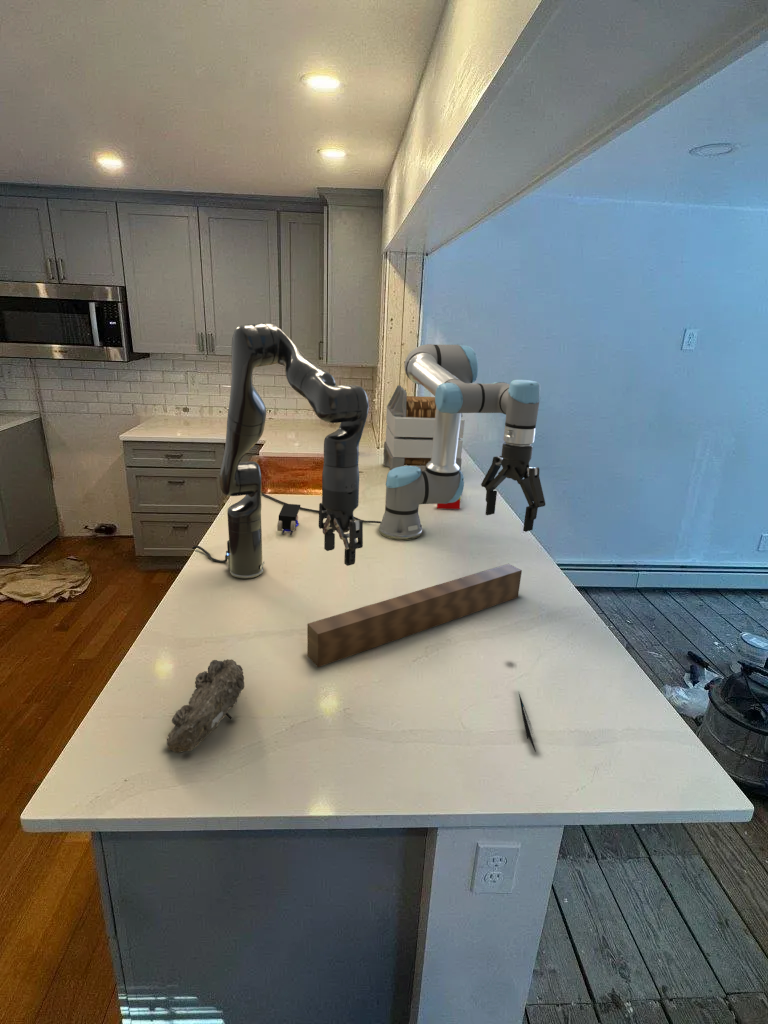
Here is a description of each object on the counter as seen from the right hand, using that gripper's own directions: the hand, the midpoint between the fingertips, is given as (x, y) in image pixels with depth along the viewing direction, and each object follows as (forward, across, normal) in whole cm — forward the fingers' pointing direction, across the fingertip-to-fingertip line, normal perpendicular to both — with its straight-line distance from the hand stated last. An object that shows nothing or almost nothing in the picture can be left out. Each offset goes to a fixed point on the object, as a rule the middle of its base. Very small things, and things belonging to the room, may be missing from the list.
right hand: (508, 522), depth 150 cm
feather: (+23, +35, -29) cm, 51 cm away
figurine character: (+23, -74, -28) cm, 82 cm away
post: (+23, 0, -26) cm, 35 cm away
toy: (+23, -76, +44) cm, 90 cm away
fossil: (+23, +6, -83) cm, 86 cm away
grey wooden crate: (+23, -111, +59) cm, 128 cm away
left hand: (-1, 0, -52) cm, 52 cm away
